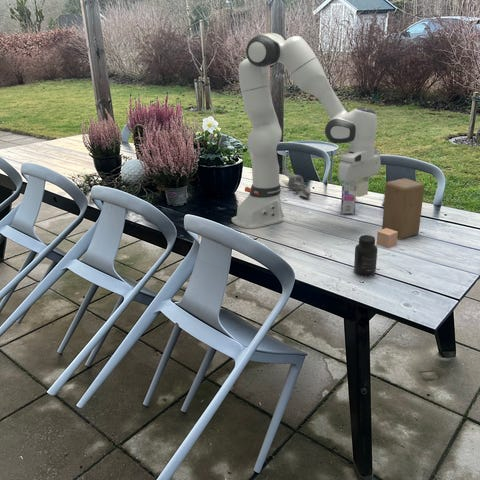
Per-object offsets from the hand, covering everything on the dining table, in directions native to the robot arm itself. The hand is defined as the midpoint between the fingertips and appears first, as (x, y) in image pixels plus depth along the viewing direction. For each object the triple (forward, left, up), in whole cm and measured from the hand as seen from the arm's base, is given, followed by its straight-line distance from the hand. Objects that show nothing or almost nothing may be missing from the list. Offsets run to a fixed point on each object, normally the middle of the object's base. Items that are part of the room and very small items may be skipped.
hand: (358, 189), depth 178 cm
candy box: (+14, +17, -16) cm, 27 cm away
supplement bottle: (-27, -26, -16) cm, 41 cm away
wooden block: (+8, -14, -16) cm, 23 cm away
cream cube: (0, 0, -2) cm, 2 cm away
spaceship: (+17, +53, -16) cm, 58 cm away
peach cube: (-4, -17, -16) cm, 24 cm away
